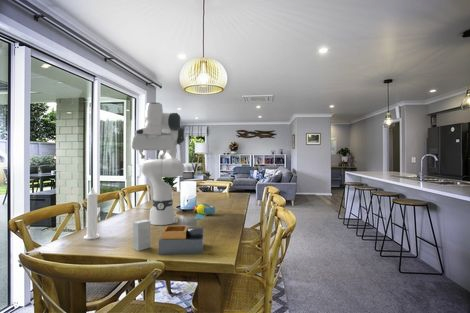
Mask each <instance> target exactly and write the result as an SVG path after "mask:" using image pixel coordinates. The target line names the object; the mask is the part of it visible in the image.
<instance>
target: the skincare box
mask: <svg viewBox="0 0 470 313" xmlns="http://www.w3.org/2000/svg"><path fill="white" fill-rule="evenodd" d="M132 225H133V228H132V230H133V233H132V234H133V235H132V236H133V243H132V244H133V248H132V249H133V250H135V251H136V252H139V251H142V250H146V249H149V248H151V224H150V221H149V219H142V220H137V221H133V224H132Z"/></svg>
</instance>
